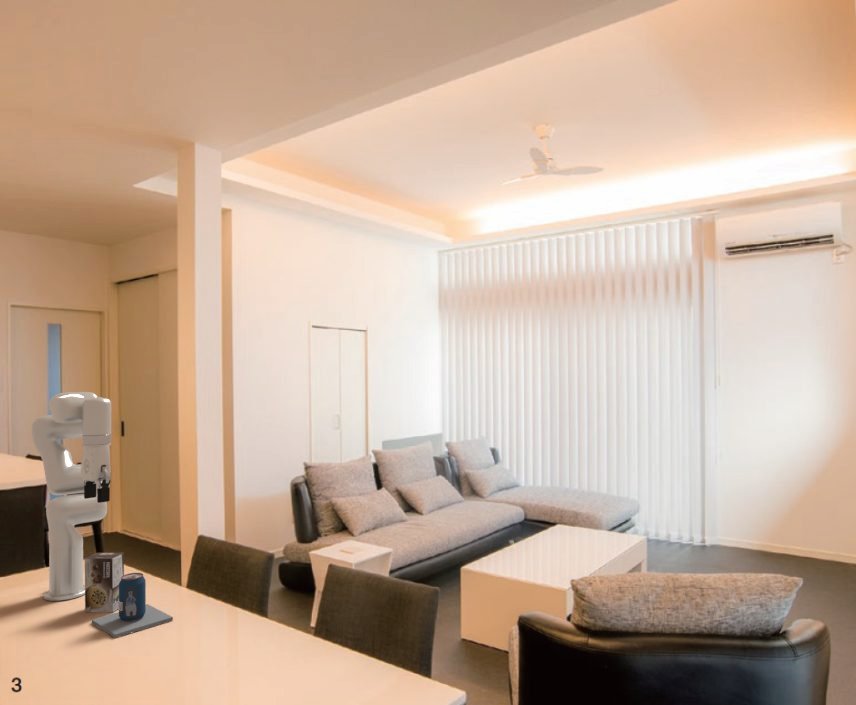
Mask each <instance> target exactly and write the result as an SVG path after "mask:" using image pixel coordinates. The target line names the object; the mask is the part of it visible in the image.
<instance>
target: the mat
mask: <svg viewBox="0 0 856 705" xmlns="http://www.w3.org/2000/svg"><path fill="white" fill-rule="evenodd" d="M173 618H174V617H173V616H172V615H170V614H168V613H166V612H165V611H162V610H160V609H158V608H156V607H155V606H152V605H150V604H148V603H146V612H145V614H144V616H143V618H142V619H140V620H137V621H133V622H123V621H122V620H121V619H120V617H119V611H118V612H113V613H111V614H107V615H104V616H99V617H97V618H94V619H91V624H92V625H93V626H95V627H97V628H98V627H99V630H102V631H103V632H105V633H106V632H107V633H106V634H108V635H109V634H110V635H109V636H111V637H112V636H113V637H112V638H114V637H117V638H120V637H119V636H121V637H123V636H122V635H124V636H126V635H125V634H127V635H129V634H128V633H130V634H132V633H131V632H134V633H136V632H135V631H137V632H140V631H143V630H142V629H144V630H146V629H145V628H147V629H150V628H153V627H156V625H157V626H160V625H162V623H163V624H167V623H170V622H172V620H173ZM169 621H170V622H169ZM173 621H174V620H173ZM159 624H160V625H159ZM152 626H153V627H152ZM149 627H150V628H149ZM139 630H140V631H139Z"/></svg>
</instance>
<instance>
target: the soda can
mask: <svg viewBox="0 0 856 705" xmlns="http://www.w3.org/2000/svg"><path fill="white" fill-rule="evenodd" d="M146 584H147V583H146V578H145V577H144V574H143V573H142V572H131V573H130V572H129V573H127V574H124V575H123V576H122V577H121V581H120V583H119V609H118V612H119V617H120V619H121V620H122V621H123V622H133V621H137V620H140V619H142V618H143V616H144V614H145V612H146V604H147V603H146V602H147V600H146V596H147V594H146Z"/></svg>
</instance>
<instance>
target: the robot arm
mask: <svg viewBox="0 0 856 705" xmlns="http://www.w3.org/2000/svg"><path fill="white" fill-rule="evenodd" d="M48 409H49V412H50V414H48V415H42V416H39V417H37V418H35V419H34V420H33V422H32V424H31V438H32V441H33V444H34V446H35V449H36V450H37V452H38V454H39V456H40V457H41V460H42V463H43V471H44V476H45V482H46V487H47V489H48V492H49V493H50V494H51V495H53V496H58V497H55V498H52V499H51V500H50V501H48V502H47V505H46V508H45V510H46V511H45V512H46V513H45V515H46V519H47V525H48V535H49V536H48V537H49V538H48V540H49V542H48V543H49V544H48V545H49V549H48V550H49V555H48V556H49V562H48V563H49V569H48V571H49V575H48V576H49V578H48V579H49V581H48V582H49V583H48V590H47V591H45V592H43V599H44V600H46V601H50V602H51V601H52V602H54V601H55V602H56V601H57V602H58V601H67V600H72V599H76V598H79V597H82V596H85V584H84V537H83V534H82V533H81V531H79V530H78V529H77V528H76V527H75V526H76V525H80V524H84V523H85V524H86V523H91V522H98V521H101V520H102V519H104V518H105V517H106V516H107V514H108V502H110V498H111V496H110V494H111V492H110V491H111V489H110V488H111V483H112V482H111V477H112V473H111V469H112V468H111V450H110V446H111V445H112V401H111V400H110V399H109V398H105V397H101V396H97V394H95V393H94V392H91V391H75V392H74V391H72V392H71V391H69V392H60V393H57V394H55V395H53V396H52V397H51V398H50V400H49V402H48ZM70 439H81V441H82V442H81V445H82V446H81V447H83V448H82V453H81V454H82V455H81V463H80V464H75V463H74V462H73V457H72V453H71V451H70V450H69V449H68V448H67V447H66V446H65V445H63V444H62V443H61V442H59V441H58V440H70Z"/></svg>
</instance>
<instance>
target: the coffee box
mask: <svg viewBox="0 0 856 705" xmlns="http://www.w3.org/2000/svg"><path fill="white" fill-rule="evenodd" d="M124 561H125V553H124V552H95V553H93V554H91V555H89V556H87V557H85V558H84V585H85V594H84V611H85V613H115V612H116V611H118V610H119V583H120V581H121V577H122V576H123V575H125V567H124V566H125V562H124ZM117 609H118V610H117Z"/></svg>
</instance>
